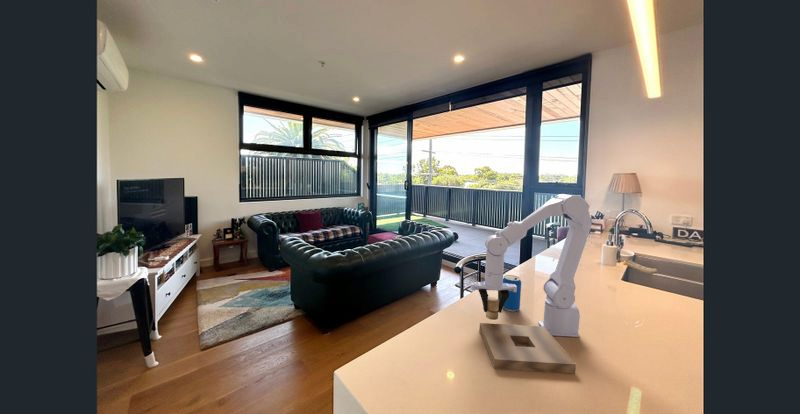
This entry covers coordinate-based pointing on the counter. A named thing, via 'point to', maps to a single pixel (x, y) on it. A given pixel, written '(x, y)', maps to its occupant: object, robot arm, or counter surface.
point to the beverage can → (513, 293)
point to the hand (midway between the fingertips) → (492, 310)
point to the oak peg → (492, 308)
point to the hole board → (525, 348)
